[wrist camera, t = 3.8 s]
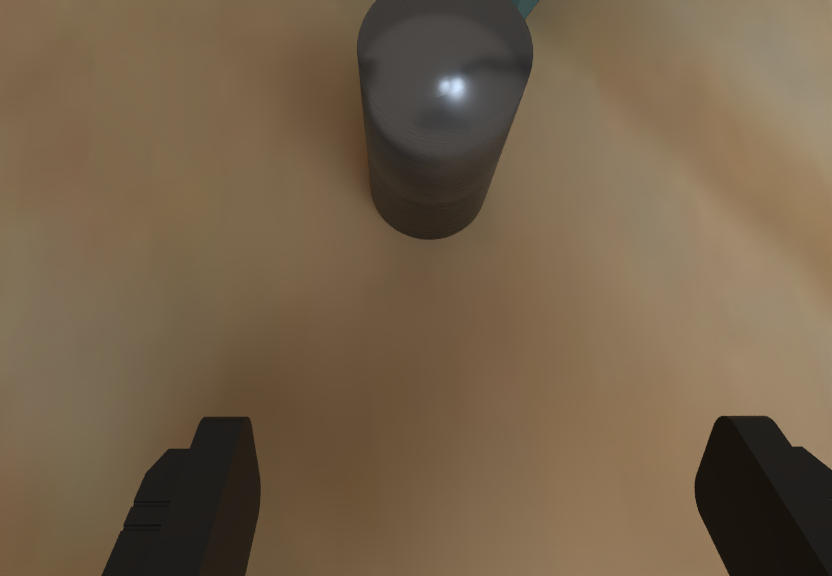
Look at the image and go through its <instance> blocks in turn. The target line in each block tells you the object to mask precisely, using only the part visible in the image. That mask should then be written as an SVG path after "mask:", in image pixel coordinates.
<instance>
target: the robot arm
mask: <svg viewBox="0 0 832 576" xmlns="http://www.w3.org/2000/svg"><path fill="white" fill-rule="evenodd" d="M260 494H261V485H260V475H259V468H258V462H257V456H256V450H255V443H254V437H253V431H252V425H251V421H250V418H249V417H203V418H202V419H201V421H200V423H199V425H198V428H197V431H196V433H195V436H194V439H193V441H192V444H191V447H190V449H168V450H167V451H166V452H165V453H164V455H163V456H162V457H161V458H160V459H159V460H158V461H157V462H156V463H155V464H154V465H153V466H152V467H151V468H150V469H149V470H148V471H147V472H146V474H145V476H144V478H143V481H142V483H141V485H140V488H139V490H138V492H137V495H136V497H135V499H134V505H133V507H131V509H130V511H129V513H128V516H127V518H126V520H125V523H124V528H123V531H121V532H120V534H119V536H118V539H117V541H116V543H115V546H114V548H113V550H112V553H111V555H110V557H109V560H108V562H107V564H106V567H105V569H104V571H103V574H102V576H245V573H246V569H247V564H248V560H249V555H250V551H251V546H252V542H253V537H254V533H255V528H256V524H257V519H258V514H259V507H260ZM695 499H696V504H697V508H698V511H699V513H700V515H701V518H702V520H703V522H704V524H705V526H706V528H707V530H708V532H709V534H710V536H711V538H712V540H713V542H714V544H715V546H716V549H717V551H718V553H719V555H720V557H721V559H722V561H723V563H724V565H725V567H726V569H727V571H728V573H729V575H730V576H832V470H831V469H830V468H828V467H827V466H826V465H825V464H823V463H822V462H821V461H820V460H818V459H817V458H816V457H815V456H813V455H812V454H811V453H809V452H808V451H807V450H806V449H804V448H803V447H792V446H791V444H790V443H789V441H788V440H787V439H786V437H785V436H784V434H783V433H782V432H781V430H780V429H779V427H778V426H777V424H776V423H775V422H774V421H773V420H772V419H771V418H769V417H767V416H721V417H719V418H718V419H717V420H716V421H715V423H714V426H713V429H712V431H711V434H710V437H709V440H708V443H707V446H706V449H705V451H704V454H703V457H702V460H701V463H700V466H699V469H698V471H697V474H696V478H695Z"/></svg>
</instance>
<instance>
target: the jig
mask: <svg viewBox="0 0 832 576" xmlns="http://www.w3.org/2000/svg"><path fill="white" fill-rule="evenodd" d="M510 1H511V2H512V3H513V4H514V5H515V6H516V8H517V9H518V10H519V12H520V13H521V15H522V16H523V18H524V20H525V18H526V17H527V16H528V14H529V13H530V12H531V10H532V9H533V8H534V6H535V5H536V4H537V2H538V1H539V0H510Z"/></svg>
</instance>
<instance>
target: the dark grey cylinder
mask: <svg viewBox="0 0 832 576" xmlns="http://www.w3.org/2000/svg"><path fill="white" fill-rule="evenodd" d="M357 55H358V65H359V75H360V84H361V94H362V104H363V114H364V124H365V133H366V143H367V153H368V163H369V172H370V182H371V192H372V197H373V201H374V203H375V206H376V208H377V210H378V211H379V213H380V215H381V216H382V217H383V219H384V220H385V221H386V222H387V223H388V224H389V225H390V226H392V227H393V228H394V229H396V230H397V231H399V232H401V233H403V234H405V235H407V236H410V237H414V238H418V239H429V240H432V239H441V238H445V237H448V236H451V235H454V234H456V233H458V232H459V231H461V230H463V229H464V228H465V227H467V226H468V225H469V224H470V223H471V222H472V221H473V220H474V218H475V217H476V216H477V214H478V213H479V211H480V209H481V207H482V205H483V202H484V199H485V197H486V194H487V191H488V188H489V186H490V183H491V180H492V177H493V175H494V172H495V169H496V166H497V164H498V161H499V158H500V155H501V153H502V150H503V147H504V144H505V142H506V139H507V136H508V133H509V131H510V128H511V125H512V122H513V120H514V117H515V114H516V111H517V109H518V106H519V103H520V100H521V98H522V95H523V92H524V89H525V87H526V84H527V81H528V78H529V75H530V72H531V68H532V61H533V45H532V40H531V35H530V32H529V29H528V26H527V24H526V22H525V20H524V18H523V16H522V15H521V13H520V12H519V10H518V9H517V8H516V6H515V5H514V4H513V3H512V2H511V1H510V0H377V1H376V2H375V3H374V4H373V5H372V7H371V8H370V9H369V11H368V12H367V14H366V16H365V18H364V20H363V22H362V25H361V28H360V31H359V36H358V42H357Z"/></svg>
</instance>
